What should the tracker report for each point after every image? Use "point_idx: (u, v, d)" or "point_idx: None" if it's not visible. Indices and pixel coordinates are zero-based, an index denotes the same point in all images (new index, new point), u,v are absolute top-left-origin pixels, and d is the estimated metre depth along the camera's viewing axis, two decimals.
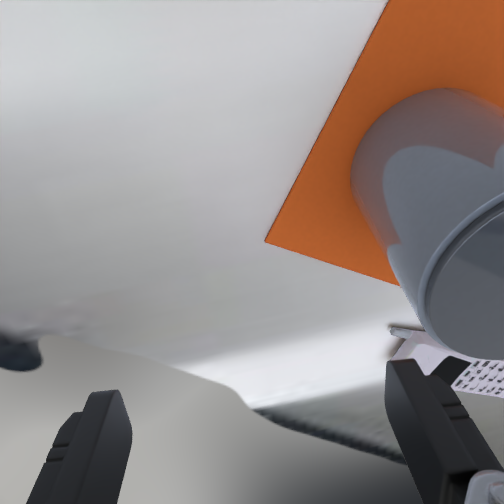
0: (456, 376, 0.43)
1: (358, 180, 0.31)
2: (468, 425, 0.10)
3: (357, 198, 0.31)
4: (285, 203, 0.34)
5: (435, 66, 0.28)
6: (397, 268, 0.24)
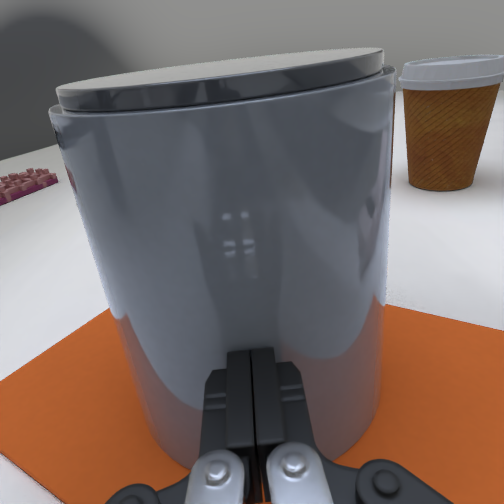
0: None
1: None
2: (300, 405, 0.11)
3: None
4: None
5: (116, 389, 0.21)
6: (238, 219, 0.11)
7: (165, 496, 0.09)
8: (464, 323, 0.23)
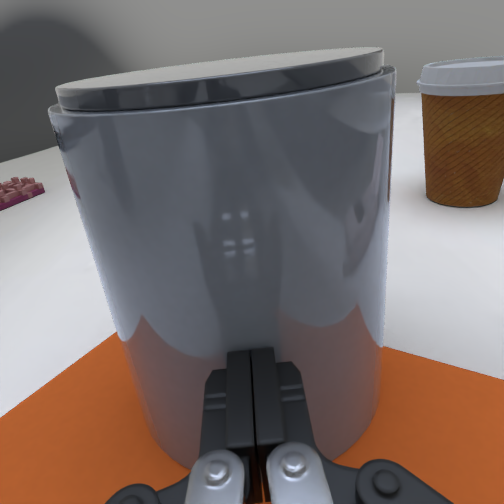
0: None
1: None
2: (300, 405, 0.11)
3: None
4: None
5: (86, 475, 0.17)
6: (240, 219, 0.11)
7: (165, 496, 0.09)
8: None
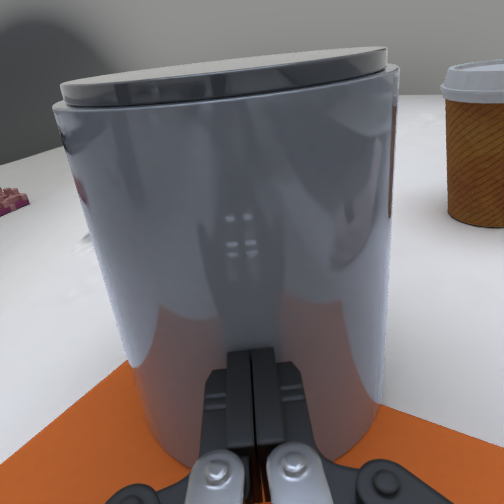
0: None
1: None
2: (301, 405, 0.11)
3: None
4: None
5: None
6: (244, 215, 0.11)
7: (165, 496, 0.09)
8: None
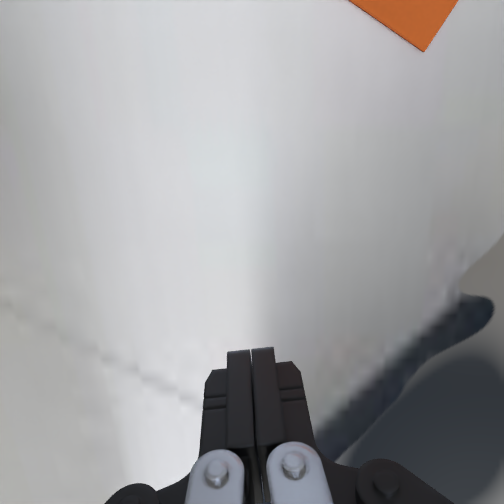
0: None
1: None
2: (301, 405, 0.11)
3: None
4: (385, 23, 0.33)
5: None
6: None
7: (165, 495, 0.09)
8: None
